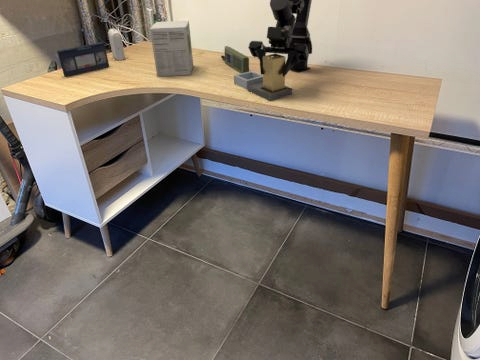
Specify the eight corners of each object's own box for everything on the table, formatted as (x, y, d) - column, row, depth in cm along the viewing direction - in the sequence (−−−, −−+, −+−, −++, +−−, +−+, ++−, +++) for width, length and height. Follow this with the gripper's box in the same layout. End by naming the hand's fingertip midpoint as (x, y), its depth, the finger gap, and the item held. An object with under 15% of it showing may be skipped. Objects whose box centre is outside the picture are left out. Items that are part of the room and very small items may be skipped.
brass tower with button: (274, 90, 126) (275, 52, 119) (284, 94, 123) (285, 56, 116) (262, 93, 124) (262, 55, 117) (272, 97, 120) (272, 59, 114)
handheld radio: (242, 75, 142) (218, 60, 162) (249, 74, 143) (225, 59, 163) (242, 57, 139) (218, 44, 158) (250, 57, 140) (225, 43, 159)
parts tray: (252, 79, 137) (252, 70, 136) (265, 84, 132) (265, 76, 130) (234, 83, 134) (233, 75, 132) (246, 89, 128) (246, 80, 126)
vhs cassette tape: (66, 77, 148) (58, 51, 142) (63, 76, 150) (56, 50, 144) (110, 67, 157) (104, 43, 152) (107, 66, 159) (102, 42, 154)
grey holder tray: (248, 91, 127) (247, 85, 126) (269, 85, 131) (269, 79, 130) (269, 101, 118) (269, 95, 117) (292, 94, 122) (292, 88, 121)
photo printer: (126, 59, 167) (121, 30, 161) (117, 61, 166) (110, 31, 159) (121, 54, 175) (115, 26, 168) (112, 56, 173) (105, 27, 167)
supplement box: (190, 75, 144) (185, 27, 135) (156, 76, 144) (149, 28, 135) (194, 65, 155) (189, 20, 146) (162, 66, 156) (155, 21, 146)
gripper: (249, 13, 117) (237, 59, 114) (308, 15, 110) (297, 64, 108) (259, 34, 127) (247, 77, 125) (313, 37, 121) (302, 82, 118)
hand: (272, 74), depth 118 cm, fingers closed on brass tower with button, 7 cm apart
